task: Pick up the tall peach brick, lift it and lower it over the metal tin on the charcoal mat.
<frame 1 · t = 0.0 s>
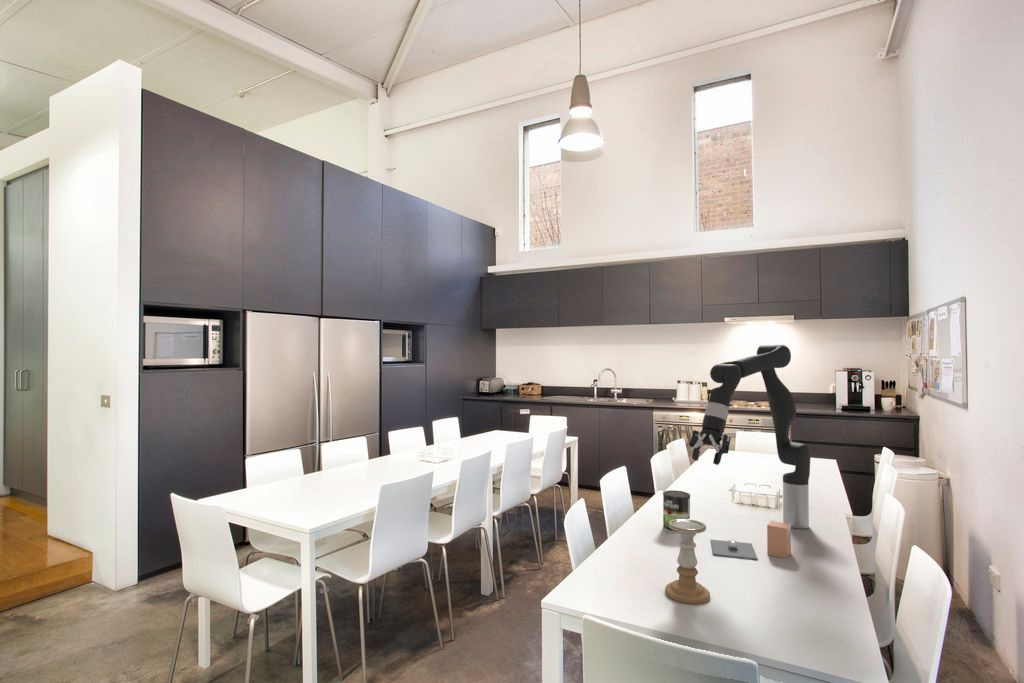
hand: (705, 462, 188), 31 cm above the table, tool tilted 20°, fingers open, 8 cm apart
charcoal mat: (732, 549, 190), on the table
tall peach brick: (779, 553, 187), on the table
candle holder: (687, 595, 155), on the table
coffee can: (676, 530, 212), on the table
metal tin: (732, 545, 190), on the charcoal mat, point 1 cm above the table
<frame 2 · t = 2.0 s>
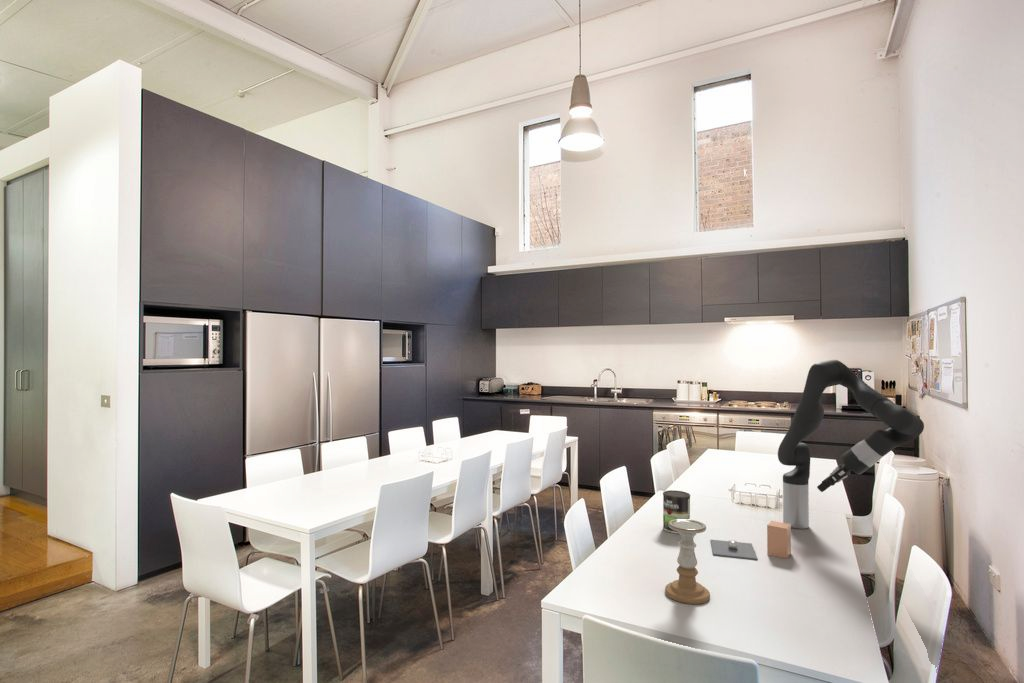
hand: (821, 487, 180), 25 cm above the table, tool tilted 45°, fingers open, 8 cm apart
nothing on the table moved.
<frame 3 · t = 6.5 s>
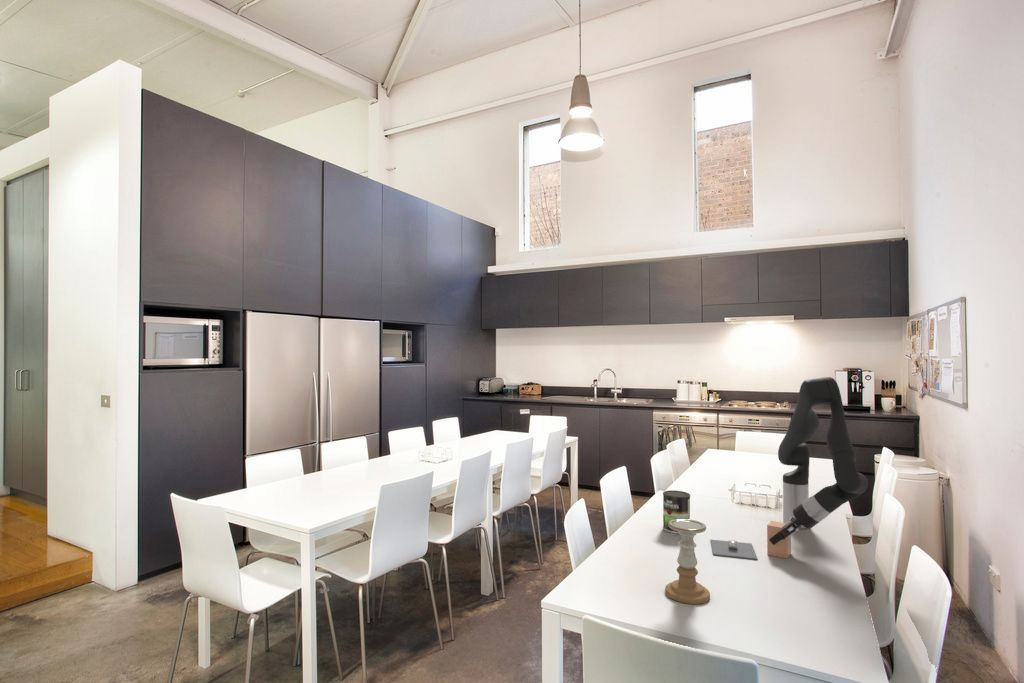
hand: (773, 539, 188), 5 cm above the table, tool tilted 45°, fingers closed on tall peach brick, 6 cm apart
tall peach brick: (779, 553, 187), on the table, touching gripper
everything else where it was.
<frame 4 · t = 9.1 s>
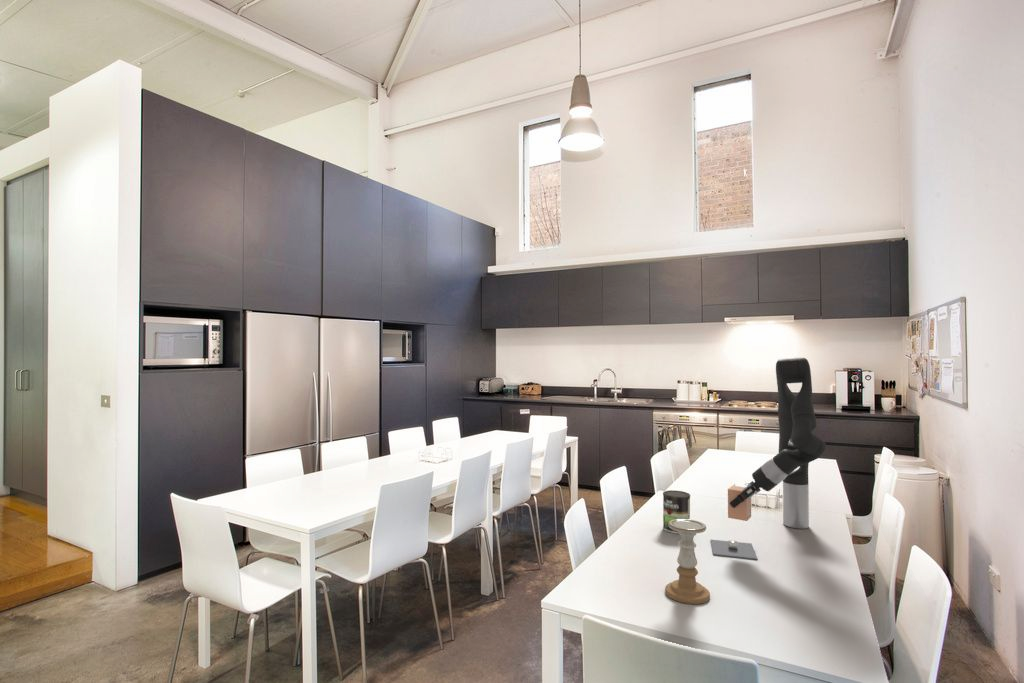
hand: (734, 503, 191), 16 cm above the table, tool tilted 45°, fingers closed on tall peach brick, 6 cm apart
tall peach brick: (739, 517, 190), point 12 cm above the table, touching gripper
everything else where it was.
when the fingers open (6 cm above the table, at t = 11.5 s): tall peach brick drops 1 cm, resting on charcoal mat.
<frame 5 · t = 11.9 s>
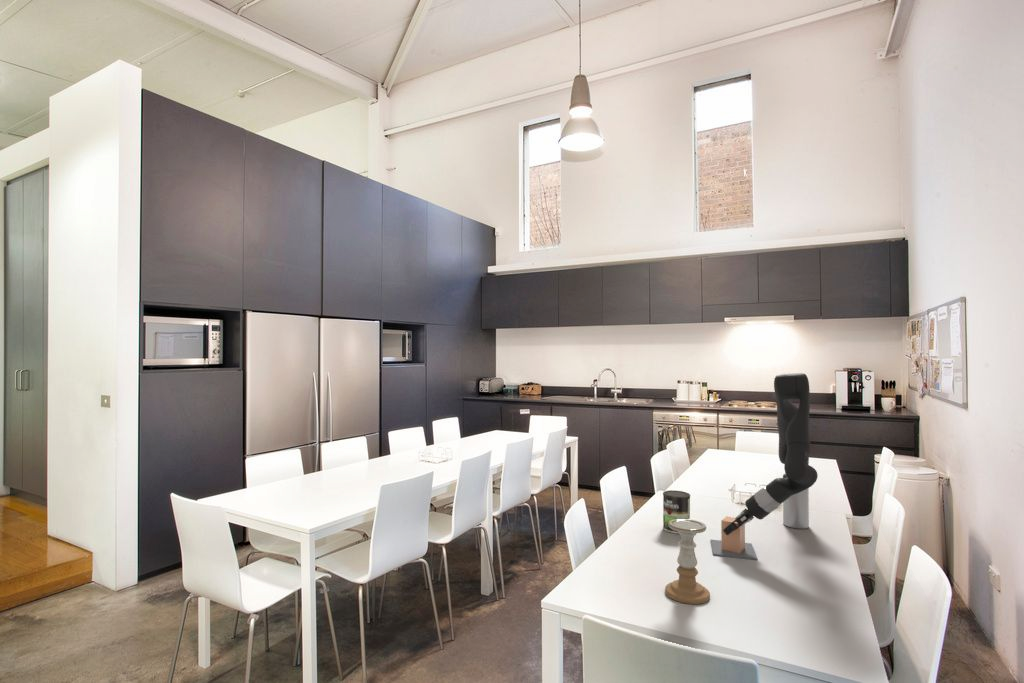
hand: (728, 529, 191), 7 cm above the table, tool tilted 45°, fingers open, 8 cm apart
tall peach brick: (733, 548, 190), resting on charcoal mat
everything else where it was.
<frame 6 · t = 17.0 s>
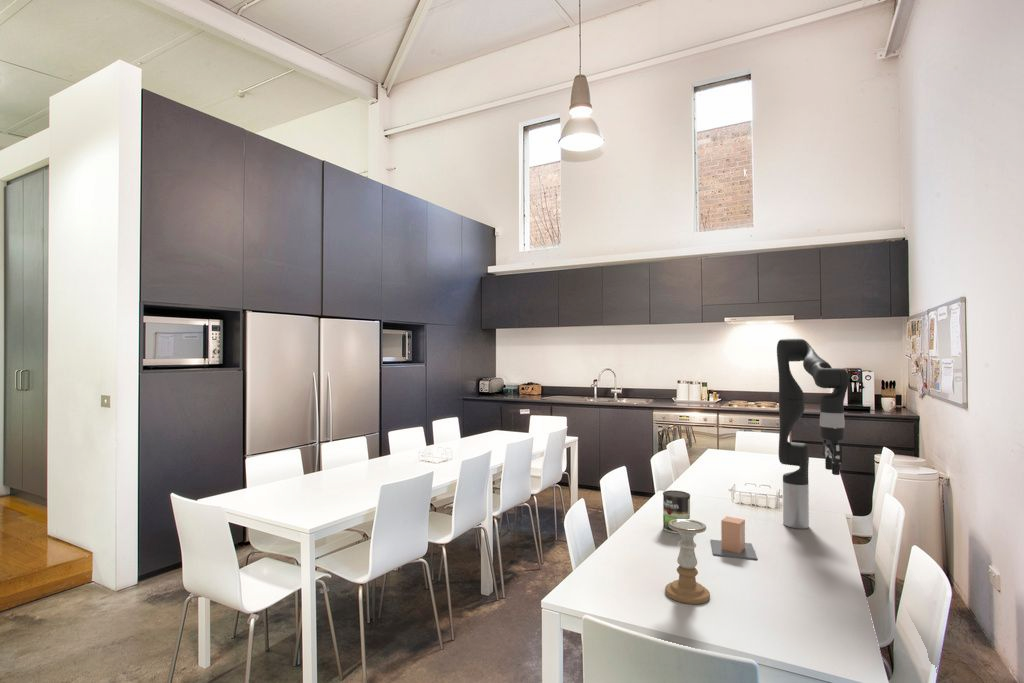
hand: (832, 472, 188), 28 cm above the table, tool pointing down, fingers open, 8 cm apart
nothing on the table moved.
at the end: tall peach brick 0.1 cm from the metal tin (horizontally); tall peach brick point 0.5 cm above the table; tall peach brick tilted 0° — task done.
